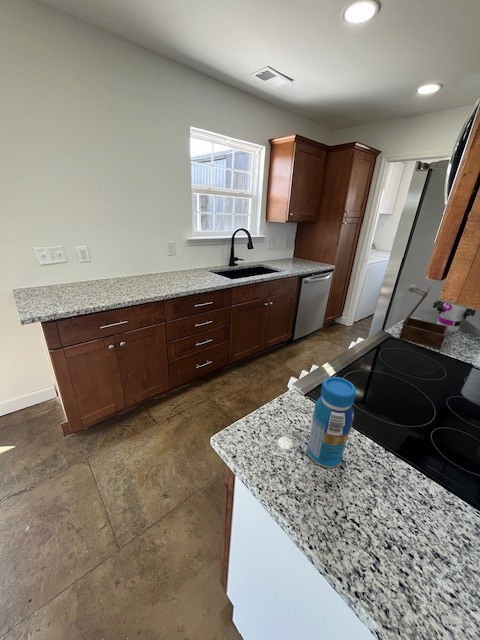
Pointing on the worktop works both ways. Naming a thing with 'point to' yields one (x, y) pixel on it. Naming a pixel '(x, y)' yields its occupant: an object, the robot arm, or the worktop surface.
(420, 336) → the storage bin
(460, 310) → the supplement can
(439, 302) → the robot arm
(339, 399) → the beverage bottle
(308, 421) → the worktop surface
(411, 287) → the bin lid
